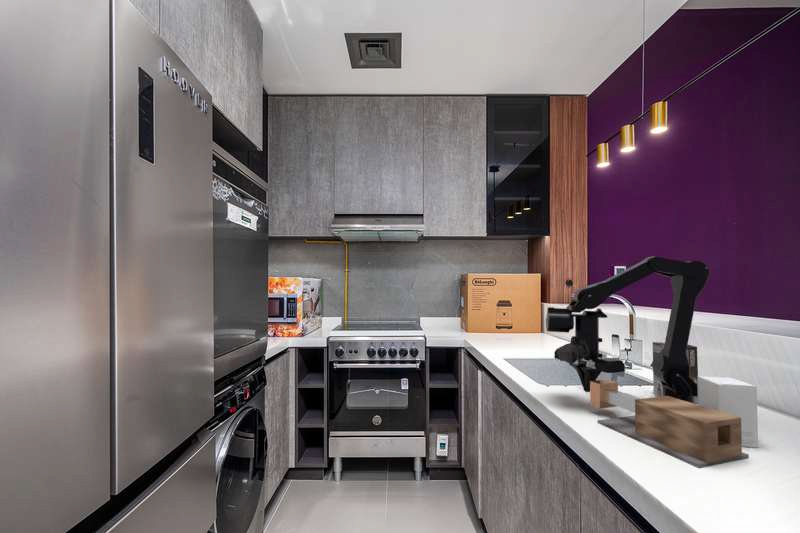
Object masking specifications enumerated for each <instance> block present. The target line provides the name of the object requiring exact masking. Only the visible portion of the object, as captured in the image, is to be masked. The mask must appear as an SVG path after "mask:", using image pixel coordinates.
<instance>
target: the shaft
mask: <svg viewBox="0 0 800 533" xmlns="http://www.w3.org/2000/svg"><path fill="white" fill-rule="evenodd" d="M635 399H642V398H641V397H638V396H635V395H632V394H628V393H626V392H622V391H620V390H619V382H618V381H614V380H611V379H600V380H598V379H597V381H590V392H589V404H590V406H593V407H595V408H598V409H608V408H615V407H616V408H617V407H619V408H621V409H624V410H627V411H630V412H633V413H635Z"/></svg>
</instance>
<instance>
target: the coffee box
mask: <svg viewBox="0 0 800 533" xmlns="http://www.w3.org/2000/svg"><path fill="white" fill-rule="evenodd" d="M664 345H665V342H662V341H661V342H660V341H659V342H658V341H657V342H656V341H654V342H652V353H653V352H657V353H660V352H661V350H662V349H663V348H664ZM686 354H687V358H688V362H689V366H690V378H691V379H692V380H693V381H694V382H695V383H696V384H697V385H698V376H699V368H698V367H699V365H698V364H699V363H698V361H699V360H698V346H694V345H691V344H688V345H687V350H686ZM652 380H653V384H652V385H653V395H654V397H660V396H665V390H666V387H665V386H662V384H661V381H660V380H659V379H658V378H657V377H656V376H655V375H654V373H653V372H652ZM695 404H697V405H698V397H697V396H695Z"/></svg>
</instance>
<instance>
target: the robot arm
mask: <svg viewBox="0 0 800 533" xmlns="http://www.w3.org/2000/svg"><path fill="white" fill-rule="evenodd" d="M654 273H655V274H658V275H661V276H663V277H668V278H670V284H671V289H672V292H673V298H672V303H671V308H670V314H669V315H670V316H669V321H668V325H667V330H666V335H665V340H664V341H665V342H664V343H665V345H664V348H663V349H662V350H661V352H660V353H657V352H653V351H652V361H651V364H650V365H649V367H651V368H652V374H653V373H654V375H655V376H656V377H657V378H658V379H659V380H660V381H661V384H662V386H665V387H666V390H665V396H670V397H673V398H677V399H680V400H683V401H687V402H690V403H693V404H696V403H695V396H697V397H698V385H697V384H696V383H695V382H694V381H693V380H692V379H691V378H690V366H689V362H688V358H687V354H686V350H687V345H689V340H690V334H691V329H692V325H693V324H692V323H693V319H694V312H695V308H696V302H697V298H698V297H699V295H700V294H701V292H702V291H703V290H704V288H705V286H706V285H707V282H708V279H709V276H710V269H709V267H708V266H707V265H706V264H705V263H704V262H702V261H699V260H692V261H690V260H689V261H682V260H677V259H669V258H664V257H661V256H656V255H654V256H648V257H646V258H644V259H642V260H641V261H639V262H638V263H636V264H634V265H632V266H629V267H628V268H626V269H625V270H622V271H620V272H619V273H617V274H615V275H612V276H610V277H609V278H607V279H605V280H603V281H600V282H596V283H591V284H590V285H587V286H586V285H585V286H582V287H580V288H578V289H576V290H575V292H574V293H573V299H572V301H571V302H570V303H569V304H568V305H567V306H566V308H563V307H562V308H559V307H553V306H549V307H547V309H546V310H547V311H546V318H545V330H546V332H548V333H549V332H550V333H551V332H552V333H570V331H572V330H574V329H575V330H574V332H575V333H574V336H573V335H572V336H571V338H570V342H569V343H566V344H564V345H561V346H559V347H558V348H556V349H555V351H554V352H553V353H554V355H553V356H554V357H553V358H554V359H555V360H558V361H560V362H566V363H567V364H569V365H570V366H571V367H573V369H574V370H575V371H576V372H577V375H578V377H579V380H580V383H581V385H582V388H583V391H584V392H586V393H590V381H596V379H597V380H598V377H599V376H600V375H601V373H607V374H612V373H613V374H614V373H615V374H616V373H625V372H626V368H625V366H626V364H625V363H624V361H623V360H622V359H618V358H614V357H608V358H602V354H601V353H599V351H600V346H599V345H600V344H599V343H603V338H601V337H600V336H599V335H600V329H599V327H600V326H599V325H600V324H599V323H600V322H599V319H600V318H601V319H607V318H608V315H607V314H605V312H604V311H603V310H602V309H601V308H597V307H599V306H601V304H603V303H604V302H605V301H607V300H608V299H609V298H610V297H611V296H612V295H613V294H615V293H617V292H618V291H620V290H623V289H625V288H627V287H628V286H631V285H632V284H635V283H636V282H638V281H640V280H642V279H645V278H646V277H649V276H650V275H652V274H654ZM596 308H597V309H596ZM593 309H596V310H593ZM581 312H582V313H581ZM574 327H575V328H574ZM590 360H592V361H590Z"/></svg>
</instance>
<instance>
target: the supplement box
mask: <svg viewBox="0 0 800 533" xmlns="http://www.w3.org/2000/svg"><path fill="white" fill-rule="evenodd" d="M757 388H758V387H757V386H756V385H753V384H751V383H748V382H745V381H742V380H740V379H739V380H738V378H737V379H736V378H733V377H725V376H724V377H723V376H722V377H721V376H705V375H704V376H703V375H698V404H697V405H700V406H704V407H707V408H710V409H714V410H717V411H720V412H724V413H727V414H730V415H734V416H737V417H741V434H742V448H743V447H746V448H752V449H753V448H757V449H758V448H759V429H758V428H759V427H758V424H759V422H758V396H757V395H758V393H757Z"/></svg>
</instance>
